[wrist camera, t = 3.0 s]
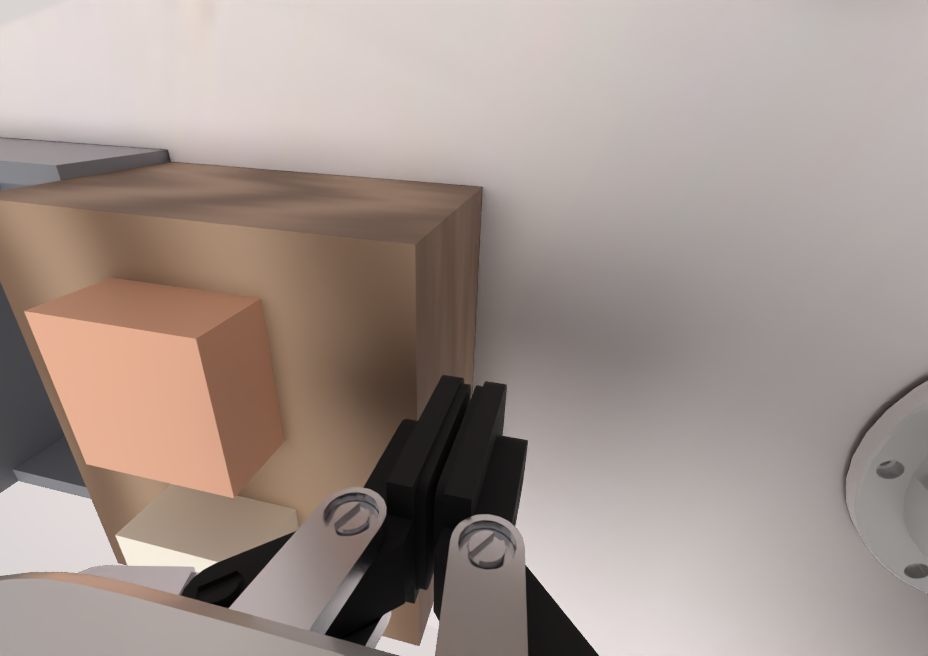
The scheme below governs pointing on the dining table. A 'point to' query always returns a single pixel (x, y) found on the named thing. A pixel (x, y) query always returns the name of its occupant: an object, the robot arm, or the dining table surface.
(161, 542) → the cream tile
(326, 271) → the wooden box
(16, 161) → the box
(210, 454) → the terracotta tile
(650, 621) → the dining table surface
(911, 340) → the dining table surface
